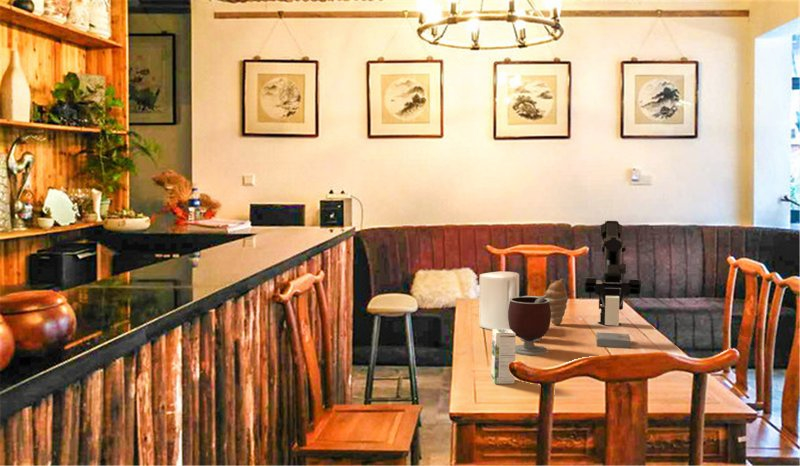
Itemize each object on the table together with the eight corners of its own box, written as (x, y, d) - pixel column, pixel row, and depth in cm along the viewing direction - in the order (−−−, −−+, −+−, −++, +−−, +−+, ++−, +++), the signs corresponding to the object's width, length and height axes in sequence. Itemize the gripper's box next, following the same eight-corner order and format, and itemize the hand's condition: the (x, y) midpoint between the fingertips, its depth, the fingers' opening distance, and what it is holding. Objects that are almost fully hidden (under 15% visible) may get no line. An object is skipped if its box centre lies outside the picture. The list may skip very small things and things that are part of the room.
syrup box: (490, 378, 208) (491, 328, 207) (510, 378, 208) (511, 328, 207) (494, 384, 202) (495, 333, 201) (515, 384, 203) (516, 332, 202)
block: (604, 322, 254) (605, 295, 253) (618, 323, 252) (619, 295, 252) (605, 324, 249) (605, 297, 248) (618, 325, 248) (619, 298, 247)
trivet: (596, 339, 258) (596, 331, 258) (628, 341, 255) (629, 333, 255) (596, 346, 247) (596, 338, 247) (630, 348, 244) (630, 340, 244)
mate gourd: (499, 349, 244) (499, 289, 242) (531, 344, 250) (532, 286, 249) (529, 359, 230) (529, 296, 229) (562, 353, 237) (563, 293, 235)
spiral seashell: (560, 322, 288) (561, 277, 287) (571, 325, 281) (572, 279, 279) (541, 323, 285) (541, 278, 284) (551, 327, 278) (552, 280, 276)
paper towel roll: (515, 324, 283) (515, 268, 281) (530, 332, 269) (531, 273, 268) (478, 326, 280) (478, 269, 278) (491, 334, 266) (492, 274, 264)
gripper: (585, 254, 255) (584, 290, 245) (641, 256, 250) (642, 293, 241) (585, 273, 263) (584, 309, 254) (639, 275, 258) (640, 312, 249)
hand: (612, 305), depth 249 cm, fingers closed on block, 4 cm apart
